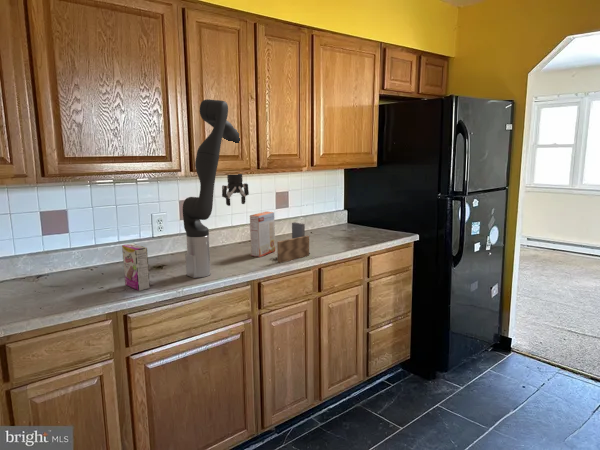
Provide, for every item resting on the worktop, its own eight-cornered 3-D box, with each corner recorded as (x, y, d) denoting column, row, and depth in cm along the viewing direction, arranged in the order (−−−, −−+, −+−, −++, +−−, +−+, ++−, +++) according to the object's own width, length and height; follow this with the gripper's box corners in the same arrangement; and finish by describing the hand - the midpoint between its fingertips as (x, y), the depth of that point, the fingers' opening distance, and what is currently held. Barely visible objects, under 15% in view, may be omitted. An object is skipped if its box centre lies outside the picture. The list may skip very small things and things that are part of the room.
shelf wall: (279, 262, 202) (279, 242, 200) (277, 262, 203) (277, 241, 201) (309, 255, 215) (309, 235, 214) (307, 254, 217) (307, 235, 215)
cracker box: (266, 250, 227) (265, 211, 223) (275, 251, 224) (275, 212, 220) (250, 255, 215) (249, 214, 211) (259, 257, 212) (259, 215, 208)
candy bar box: (124, 285, 169) (121, 244, 166) (136, 282, 173) (133, 242, 170) (138, 291, 162) (135, 249, 159) (150, 288, 165) (147, 247, 162)
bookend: (301, 256, 214) (301, 224, 211) (292, 253, 219) (291, 222, 216) (310, 253, 218) (310, 223, 216) (300, 251, 223) (300, 221, 220)
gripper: (226, 174, 208) (227, 207, 212) (250, 172, 217) (251, 204, 221) (218, 173, 214) (220, 205, 218) (242, 171, 223) (244, 202, 226)
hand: (236, 204), depth 219 cm, fingers open, 8 cm apart
